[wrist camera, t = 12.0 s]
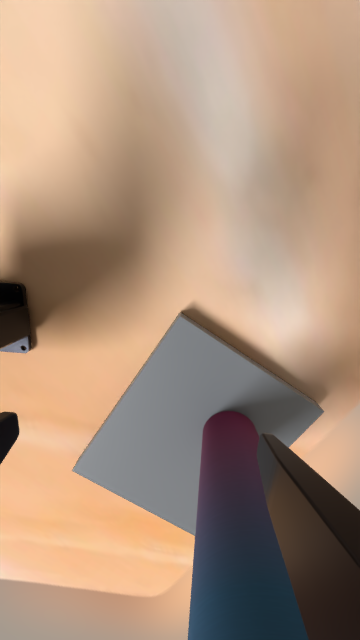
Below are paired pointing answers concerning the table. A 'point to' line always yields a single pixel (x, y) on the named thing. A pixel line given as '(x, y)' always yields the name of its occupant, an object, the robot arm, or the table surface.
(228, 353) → the board
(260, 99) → the table surface
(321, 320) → the table surface
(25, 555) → the table surface
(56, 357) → the table surface
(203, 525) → the cup
